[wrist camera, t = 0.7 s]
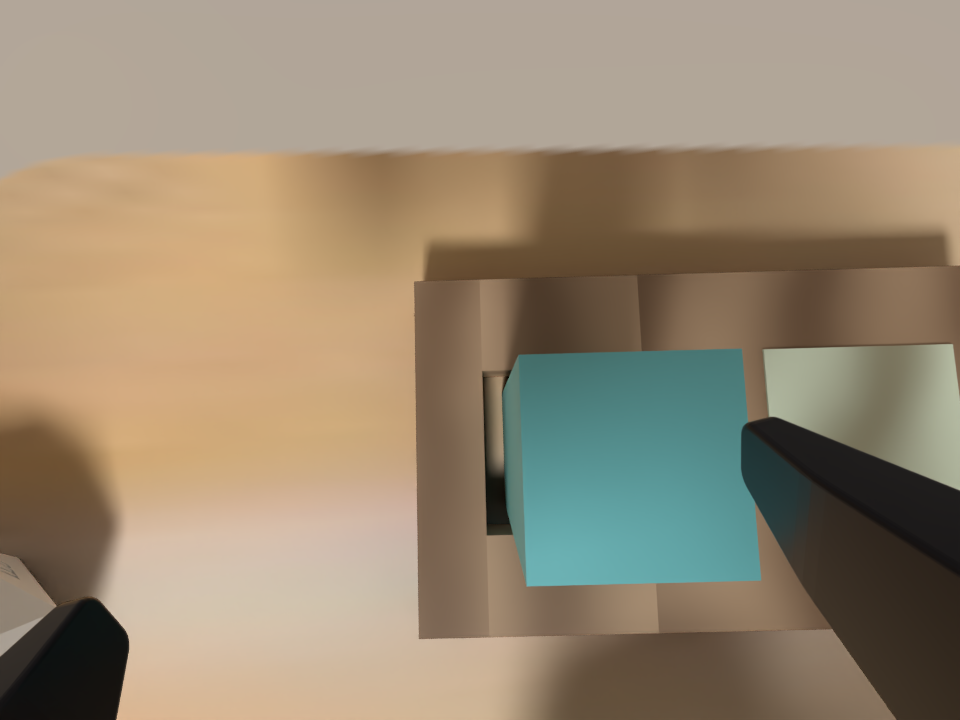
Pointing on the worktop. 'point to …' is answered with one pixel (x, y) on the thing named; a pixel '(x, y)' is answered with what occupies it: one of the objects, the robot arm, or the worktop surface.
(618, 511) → the teal block
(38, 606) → the die
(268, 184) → the worktop surface
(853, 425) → the puzzle board
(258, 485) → the worktop surface
